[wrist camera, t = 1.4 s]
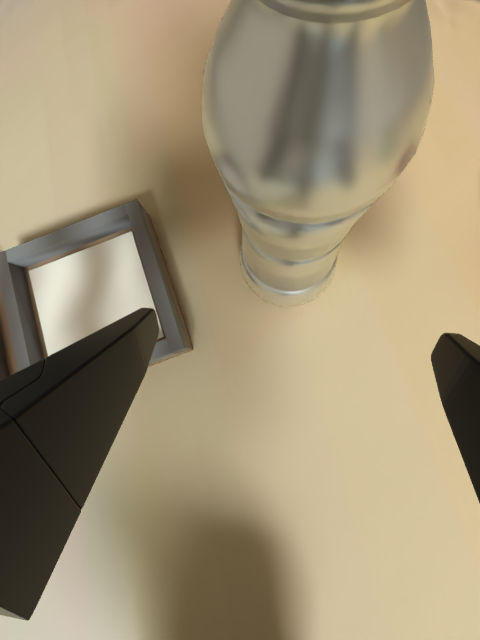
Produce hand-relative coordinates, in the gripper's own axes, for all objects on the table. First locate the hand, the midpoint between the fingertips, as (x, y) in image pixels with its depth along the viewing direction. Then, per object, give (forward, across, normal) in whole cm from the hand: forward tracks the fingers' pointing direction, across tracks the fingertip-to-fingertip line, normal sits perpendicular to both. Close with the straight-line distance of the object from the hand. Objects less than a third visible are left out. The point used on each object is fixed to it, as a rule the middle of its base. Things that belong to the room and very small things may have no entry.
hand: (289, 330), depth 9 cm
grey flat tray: (+9, +21, +10) cm, 24 cm away
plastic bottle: (+14, 0, +5) cm, 14 cm away
